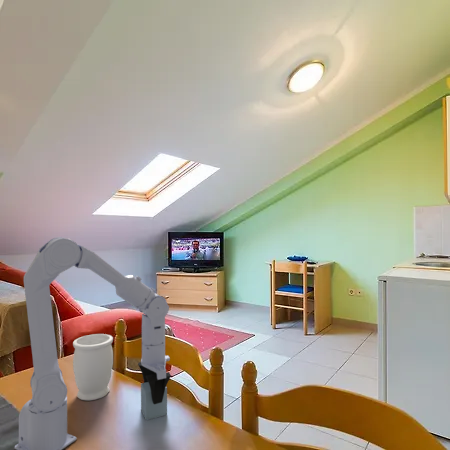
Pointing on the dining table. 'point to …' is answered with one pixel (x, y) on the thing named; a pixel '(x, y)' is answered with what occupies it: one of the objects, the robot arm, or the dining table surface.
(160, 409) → the tall grey box
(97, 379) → the jar
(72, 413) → the dining table surface
